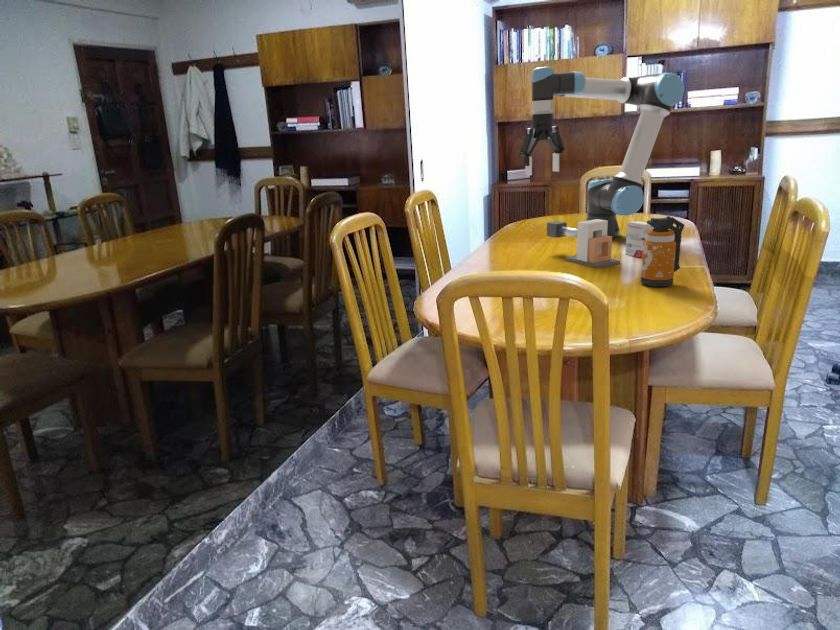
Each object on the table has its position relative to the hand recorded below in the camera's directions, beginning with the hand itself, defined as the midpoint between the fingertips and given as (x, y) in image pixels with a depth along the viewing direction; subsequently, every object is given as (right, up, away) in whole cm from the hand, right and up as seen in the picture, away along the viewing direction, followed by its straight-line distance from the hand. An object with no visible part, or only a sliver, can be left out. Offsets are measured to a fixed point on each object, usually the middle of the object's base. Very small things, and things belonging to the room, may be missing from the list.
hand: (542, 173), depth 229 cm
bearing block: (+14, -34, -14) cm, 40 cm away
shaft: (+9, -25, -8) cm, 28 cm away
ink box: (+33, -32, -9) cm, 46 cm away
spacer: (+16, -30, -19) cm, 39 cm away
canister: (+26, -44, -46) cm, 68 cm away
